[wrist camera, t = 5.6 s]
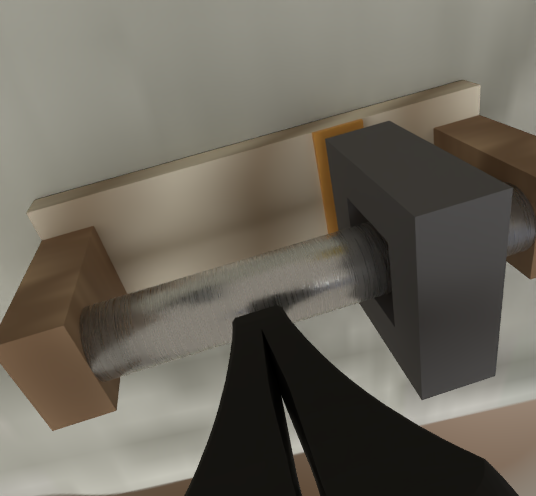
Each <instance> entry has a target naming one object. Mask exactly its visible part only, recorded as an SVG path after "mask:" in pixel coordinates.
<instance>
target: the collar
mask: <svg viewBox="0 0 536 496" xmlns="http://www.w3.org/2000/svg"><path fill="white" fill-rule="evenodd" d="M325 143H326V150H327V156H328V163H329V170H330V177H331V183H332V190H333V197H334V204H335V210H336V217H337V224H338V231H340V230H343V229H346V228H350V227H353V226H356V225H360V224H363V223H366V222H370V223H371V224H372V225H373V226H374V227H375V229H376V230H377V231H378V232H379V233H380V234H381V235H382V236H383V237H384V238H385V239H386V240H387V242H388V245H389V258H390V271H391V283H392V292H391V293H388V294H385V295H381V296H378V297H375V298H372V299H369V300H365V301H362V302H359V303H360V305H361V306H362V308H363V309H364V311H365V313H366V314H367V316H368V317H369V319H370V320H371V322H372V323H373V325H374V326H375V328H376V330H377V331H378V333H379V334H380V336H381V337H382V339H383V340H384V342H385V344H386V345H387V347H388V348H389V350H390V351H391V353H392V354H393V356H394V358H395V359H396V361H397V362H398V364H399V365H400V367H401V368H402V370H403V371H404V373H405V375H406V376H407V378H408V379H409V381H410V382H411V384H412V385H413V387H414V389H415V390H416V392H417V393H418V395H419V396H420V398H421V399H422V400H424V399H427V398H430V397H433V396H436V395H439V394H442V393H445V392H448V391H451V390H454V389H457V388H460V387H463V386H466V385H469V384H472V383H475V382H478V381H481V380H484V379H487V378H490V377H493V376H495V373H496V362H497V352H498V341H499V331H500V320H501V310H502V299H503V288H504V278H505V267H506V257H507V246H508V236H509V225H510V215H511V204H512V193H513V187H511V186H509V185H507V184H505V183H504V182H502V181H500V180H498V179H496V178H494V177H493V176H491V175H489V174H487V173H485V172H483V171H482V170H480V169H478V168H476V167H474V166H472V165H470V164H469V163H467V162H465V161H463V160H461V159H459V158H458V157H456V156H454V155H452V154H450V153H448V152H446V151H445V150H443V149H441V148H439V147H437V146H435V145H434V144H432V143H430V142H428V141H426V140H424V139H422V138H421V137H419V136H417V135H415V134H413V133H411V132H410V131H408V130H406V129H404V128H402V127H400V126H398V125H397V124H395V123H393V122H391V121H386V122H382V123H379V124H375V125H372V126H368V127H365V128H361V129H358V130H354V131H351V132H347V133H344V134H340V135H337V136H333V137H330V138H326V139H325Z"/></svg>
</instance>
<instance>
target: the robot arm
mask: <svg viewBox="0 0 536 496" xmlns="http://www.w3.org/2000/svg"><path fill="white" fill-rule="evenodd" d="M282 398H283V401H284V403H285V406H286V408H287V411H288V413H289V415H290V418H291V420H292V423H293V425H294V428H295V430H296V433H297V435H298V438H299V440H300V442H301V445H302V447H303V450H304V452H305V455H306V457H307V459H308V462H309V464H310V467H311V470H312V472H313V475H314V478H315V481H316V483H317V487H318V490H319V493H320V496H519V495H518V494H517V493H516V492H515V491H514V489H513V488H512V487H511V486H510V485H509V484H508V483H507V481H506V480H505V479H504V478H503V477H502V476H501V475H500V474H499V473H498V472H497V471H496V470H495V469H494V468H493V467H492V466H491V464H489V463H488V462H487V461H486V460H485V459H484V458H481V457H479V456H477V455H475V454H473V453H471V452H469V451H466V450H464V449H462V448H460V447H458V446H456V445H454V444H452V443H450V442H448V441H446V440H444V439H442V438H440V437H439V436H437V435H435V434H433V433H431V432H429V431H427V430H426V429H424V428H422V427H420V426H418V425H417V424H415V423H414V422H412V421H410V420H409V419H407V418H405V417H404V416H402V415H401V414H399V413H397V412H396V411H394V410H392V409H391V408H389V407H388V406H386V405H385V404H383V403H382V402H380V401H379V400H377V399H376V398H374V397H373V396H372V395H370V394H369V393H367V392H366V391H365V390H363V389H362V388H361V387H359V386H358V385H357V384H355V383H354V382H353V381H352V380H350V379H349V378H348V377H347V376H346V375H344V374H343V373H342V372H341V371H340V370H338V369H337V368H336V367H335V366H334V365H333V364H332V363H331V362H329V361H328V360H327V359H326V358H325V357H324V356H323V355H322V354H321V353H320V352H319V351H318V350H317V349H316V348H315V347H314V346H313V345H312V344H311V343H310V342H309V341H308V340H307V339H306V338H305V337H304V335H303V334H302V333H301V332H300V331H299V330H298V329H297V327H296V326H295V325H294V324H293V322H292V321H291V320H290V319H289V317H288V316H287V314H286V313H285V311H284V310H283V308H282V307H281V306H279V305H275V306H272V307H268V308H265V309H262V310H259V311H255V312H252V313H249V314H246V315H242V316H239V317H236V318H235V319H234V320H233V322H232V345H231V353H230V359H229V365H228V370H227V376H226V381H225V385H224V389H223V393H222V397H221V401H220V405H219V408H218V412H217V415H216V418H215V422H214V425H213V428H212V431H211V433H210V436H209V439H208V442H207V445H206V447H205V450H204V452H203V455H202V457H201V460H200V462H199V465H198V467H197V470H196V472H195V474H194V477H193V479H192V481H191V483H190V485H189V488H188V490H187V492H186V494H185V496H302V494H301V490H300V487H299V482H298V477H297V473H296V468H295V463H294V458H293V453H292V448H291V443H290V437H289V432H288V427H287V422H286V417H285V412H284V407H283V401H282Z"/></svg>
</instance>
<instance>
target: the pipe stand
mask: <svg viewBox="0 0 536 496" xmlns="http://www.w3.org/2000/svg"><path fill="white" fill-rule="evenodd" d="M479 108H480V85H479V84H475V83H472V82H468V81H465V80H461V81H457V82H454V83H450V84H447V85H443V86H440V87H436V88H432V89H429V90H425V91H422V92H418V93H415V94H411V95H407V96H404V97H400V98H397V99H393V100H390V101H386V102H383V103H379V104H375V105H372V106H368V107H365V108H361V109H358V110H354V111H350V112H347V113H343V114H340V115H336V116H333V117H329V118H325V119H322V120H318V121H315V122H311V123H308V124H304V125H301V126H297V127H293V128H290V129H286V130H283V131H279V132H276V133H272V134H268V135H265V136H261V137H258V138H254V139H251V140H247V141H244V142H240V143H236V144H233V145H229V146H226V147H222V148H219V149H215V150H211V151H208V152H204V153H201V154H197V155H194V156H190V157H186V158H183V159H179V160H176V161H172V162H169V163H165V164H162V165H158V166H154V167H151V168H147V169H144V170H140V171H137V172H133V173H129V174H126V175H122V176H119V177H115V178H112V179H108V180H105V181H101V182H97V183H94V184H90V185H87V186H83V187H80V188H76V189H72V190H69V191H65V192H62V193H58V194H55V195H51V196H47V197H44V198H40V199H37V200H34V202H33V203H32V205H31V206H30V208H29V209H28V211H27V213H26V214H27V215H28V217H29V219H30V221H31V222H32V224H33V226H34V228H35V229H36V231H37V233H38V234H39V236H40V238H41V240H42V241H41V243H40V245H39V248H38V250H37V252H36V254H35V256H34V258H33V260H32V262H31V264H30V266H29V268H28V270H27V272H26V274H25V276H24V278H23V280H22V282H21V284H20V286H19V288H18V290H17V292H16V294H15V296H14V298H13V300H12V302H11V304H10V306H9V308H8V310H7V312H6V314H5V316H4V318H3V320H2V322H1V324H0V364H1V365H2V366H3V367H4V369H5V370H6V371H7V373H8V374H9V375H10V377H11V378H12V379H13V380H14V382H15V383H16V384H17V386H18V387H19V388H20V389H21V391H22V392H23V393H24V395H25V396H26V397H27V398H28V400H29V401H30V402H31V404H32V405H33V406H34V407H35V409H36V410H37V411H38V413H39V414H40V415H41V417H42V418H43V419H44V420H45V422H46V423H47V424H48V426H49V427H50V428H51V429H52V431H54V430H57V429H60V428H63V427H66V426H70V425H73V424H76V423H79V422H82V421H85V420H88V419H92V418H95V417H98V416H101V415H104V414H107V413H110V412H114V411H116V410H117V401H118V392H119V383H120V377H122V376H125V375H128V374H132V373H135V372H138V371H141V370H144V369H148V368H151V367H154V366H157V365H160V364H164V363H167V362H170V361H173V360H176V359H180V358H183V357H186V356H189V355H192V354H196V353H199V352H202V351H205V350H208V349H212V348H215V347H218V346H221V345H224V344H228V343H231V342H232V322H233V320H234V319H235V318H236V317H239V316H242V315H246V314H249V313H252V312H255V311H259V310H262V309H265V308H268V307H272V306H275V305H279V306H281V307H282V308H283V310H284V311H285V313H286V314H287V316H288V317H289V319H290V320H291V321H292V322H293V323H295V322H298V321H301V320H305V319H308V318H311V317H314V316H317V315H321V314H324V313H327V312H330V311H333V310H337V309H340V308H343V307H346V306H349V305H353V304H356V303H359V302H362V301H365V300H369V299H372V298H375V297H378V296H381V295H385V294H388V293H391V292H392V283H391V271H390V258H389V245H388V242H387V240H386V239H385V238H384V237H383V236H382V235H381V234H380V233H379V232H378V231H377V230H376V229H375V227H374V226H373V225H372V224H371V223H370V222H366V223H363V224H360V225H356V226H353V227H350V228H346V229H343V230H340V231H338V224H337V217H336V210H335V204H334V197H333V190H332V183H331V177H330V170H329V163H328V156H327V150H326V143H325V139H326V138H330V137H333V136H337V135H340V134H344V133H347V132H351V131H354V130H358V129H361V128H365V127H368V126H372V125H375V124H379V123H382V122H386V121H391V122H393V123H395V124H397V125H398V126H400V127H402V128H404V129H406V130H408V131H410V132H411V133H413V134H415V135H417V136H419V137H421V138H422V139H424V140H426V141H428V142H430V143H432V144H434V145H435V146H437V147H439V148H441V149H443V150H445V151H446V152H448V153H450V154H452V155H454V156H456V157H458V158H459V159H461V160H463V161H465V162H467V163H469V164H470V165H472V166H474V167H476V168H478V169H480V170H482V171H483V172H485V173H487V174H489V175H491V176H493V177H494V178H496V179H498V180H500V181H502V182H504V183H505V184H507V185H509V186H511V187H513V193H512V204H511V215H510V225H509V236H508V246H507V257H506V261H507V262H508V263H510V264H511V265H512V266H513V267H515V268H516V269H517V270H519V271H520V272H521V273H523V274H524V275H525V276H527V277H528V278H529V279H533V278H536V136H535V135H532V134H529V133H527V132H524V131H521V130H518V129H516V128H513V127H510V126H508V125H505V124H502V123H500V122H497V121H494V120H491V119H489V118H486V117H483V116H481V115H479Z"/></svg>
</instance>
